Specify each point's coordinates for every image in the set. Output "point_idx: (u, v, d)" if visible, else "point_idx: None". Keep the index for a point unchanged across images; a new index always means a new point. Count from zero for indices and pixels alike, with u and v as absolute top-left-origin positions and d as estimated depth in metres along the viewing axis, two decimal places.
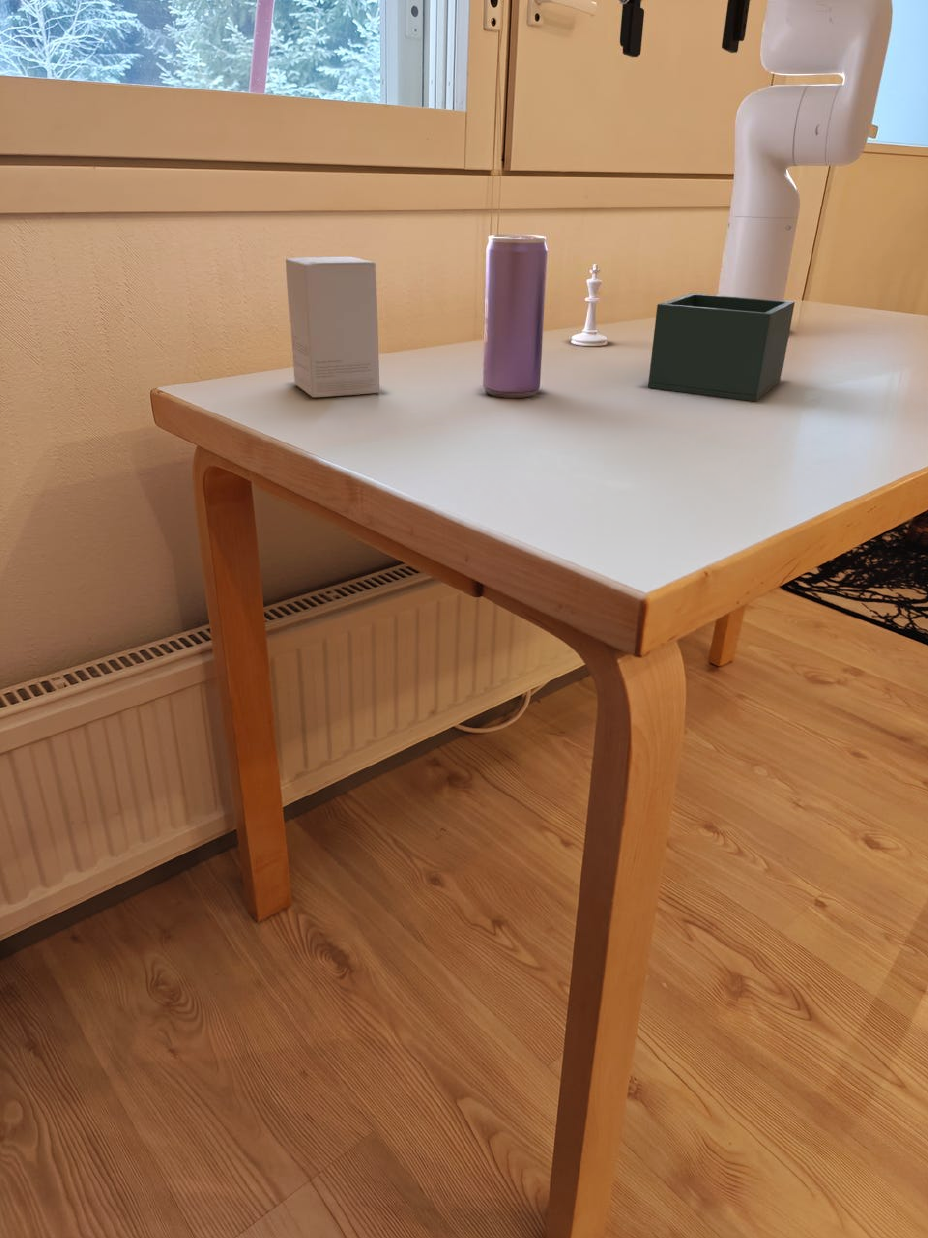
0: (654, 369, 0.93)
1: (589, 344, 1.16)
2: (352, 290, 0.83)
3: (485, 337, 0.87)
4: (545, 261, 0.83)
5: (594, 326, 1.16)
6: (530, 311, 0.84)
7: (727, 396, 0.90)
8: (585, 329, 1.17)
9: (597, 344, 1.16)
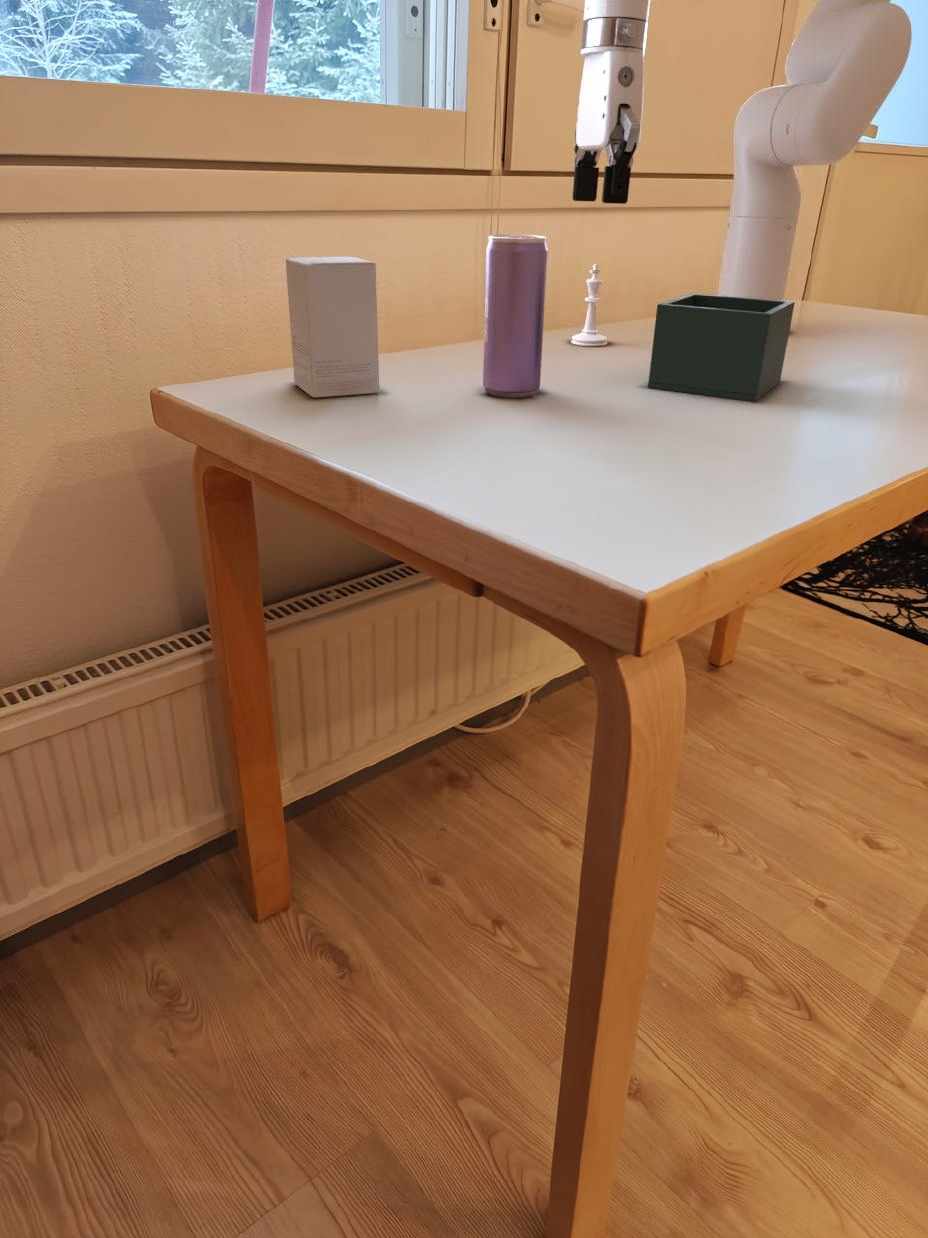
0: (654, 369, 0.93)
1: (589, 344, 1.16)
2: (352, 290, 0.83)
3: (485, 337, 0.87)
4: (545, 261, 0.83)
5: (594, 326, 1.16)
6: (530, 311, 0.84)
7: (727, 396, 0.90)
8: (585, 329, 1.17)
9: (597, 344, 1.16)
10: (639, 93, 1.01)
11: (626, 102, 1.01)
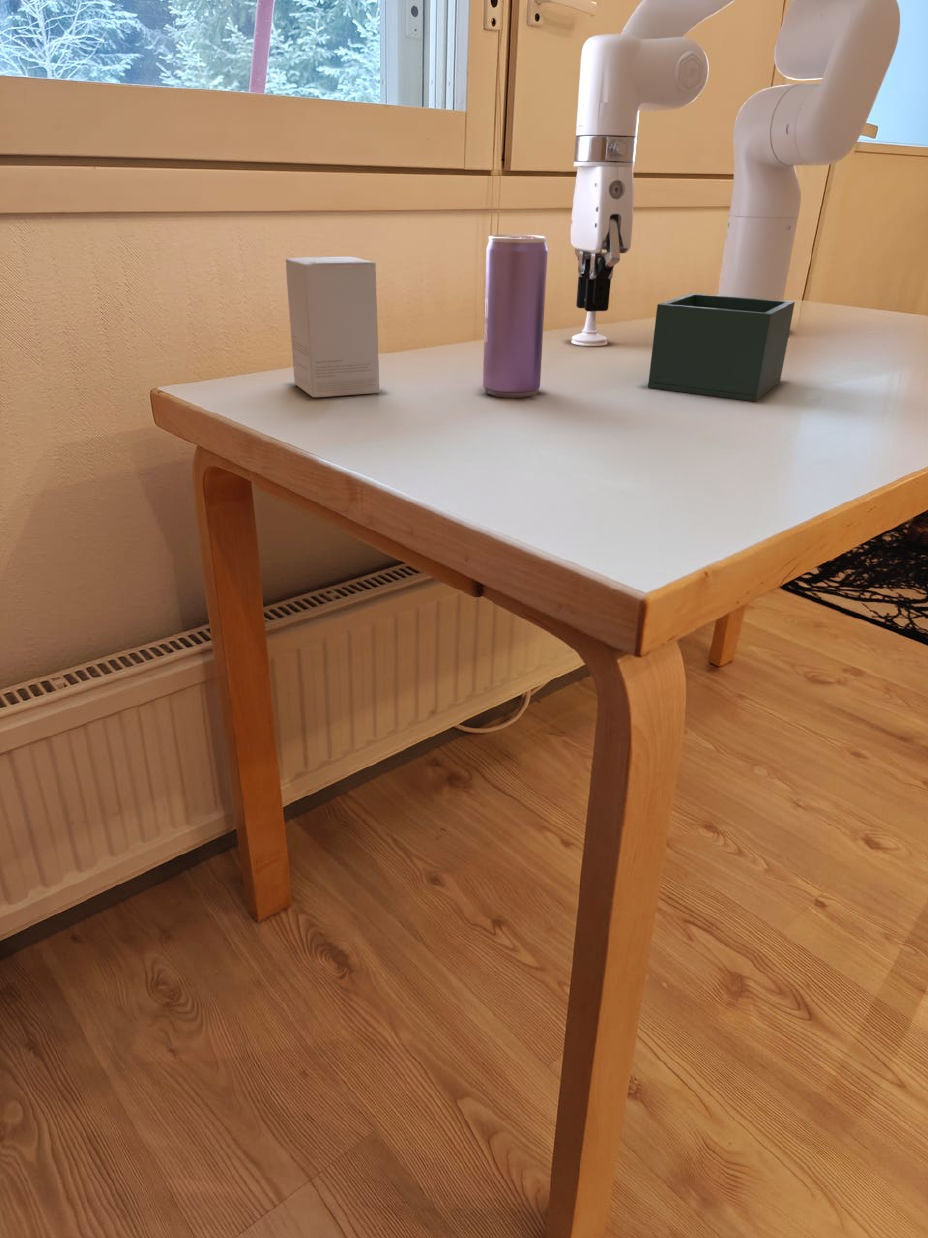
0: (654, 369, 0.93)
1: (589, 344, 1.16)
2: (352, 290, 0.83)
3: (485, 337, 0.87)
4: (545, 261, 0.83)
5: (594, 326, 1.16)
6: (530, 311, 0.84)
7: (727, 396, 0.90)
8: (585, 329, 1.17)
9: (597, 344, 1.16)
10: (629, 204, 1.06)
11: (617, 213, 1.06)
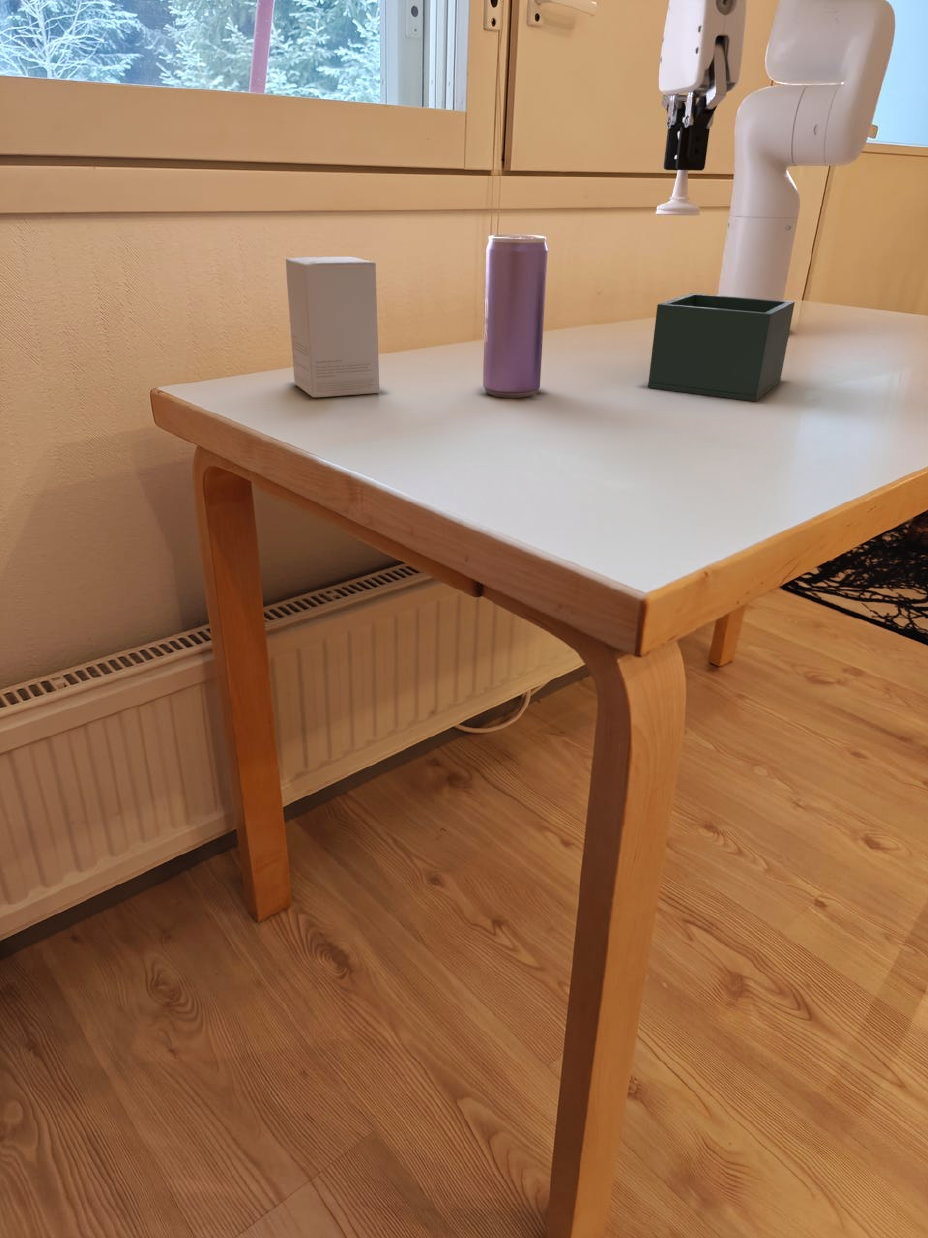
0: (654, 369, 0.93)
1: (679, 212, 0.94)
2: (352, 290, 0.83)
3: (485, 337, 0.87)
4: (545, 261, 0.83)
5: (685, 191, 0.95)
6: (530, 311, 0.84)
7: (727, 396, 0.90)
8: (674, 195, 0.95)
9: (689, 213, 0.94)
10: (740, 22, 0.85)
11: (725, 33, 0.85)
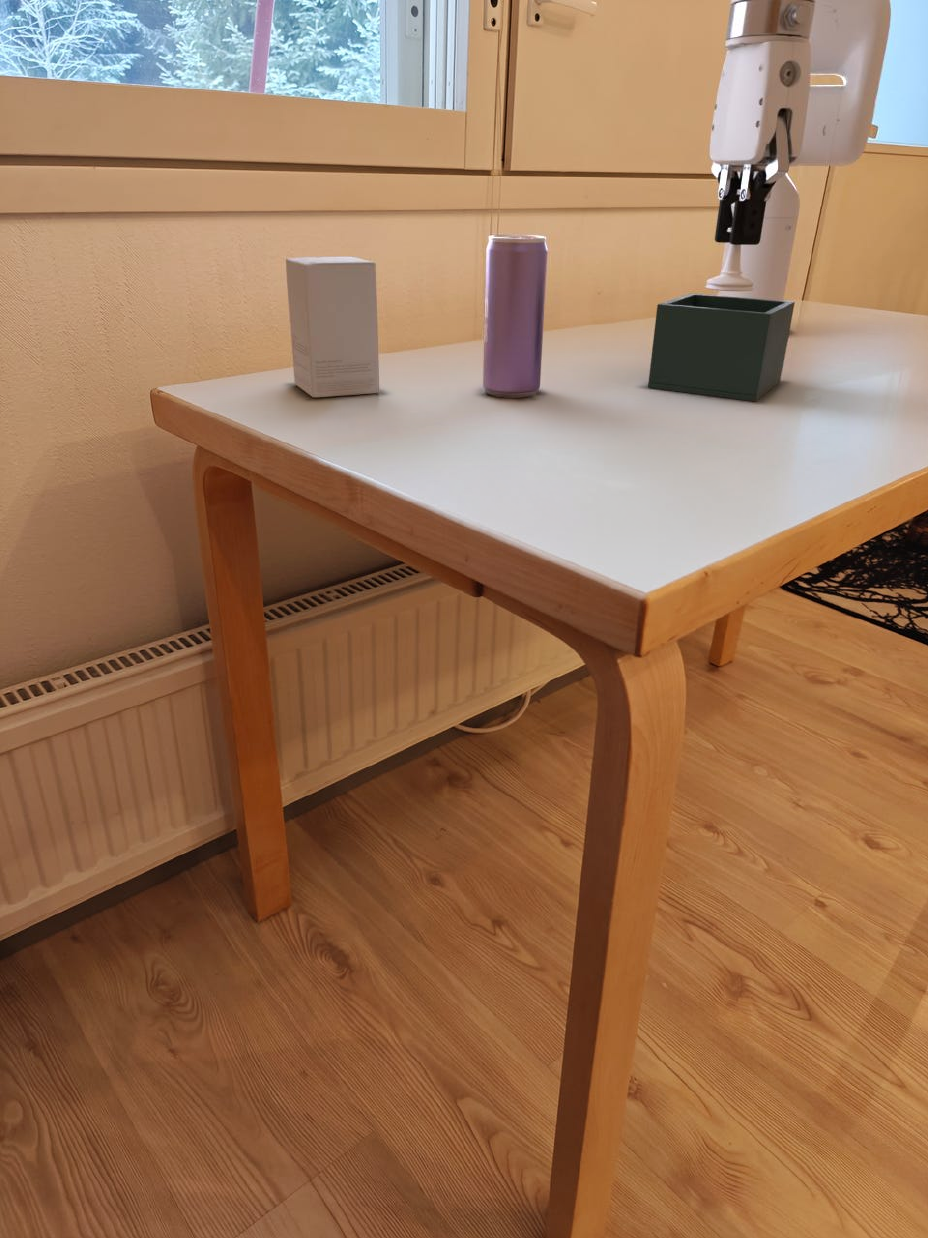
0: (654, 369, 0.93)
1: (732, 289, 0.89)
2: (352, 290, 0.83)
3: (485, 337, 0.87)
4: (545, 261, 0.83)
5: (738, 265, 0.89)
6: (530, 311, 0.84)
7: (727, 396, 0.90)
8: (726, 270, 0.90)
9: (743, 289, 0.89)
10: (804, 95, 0.79)
11: (788, 106, 0.79)
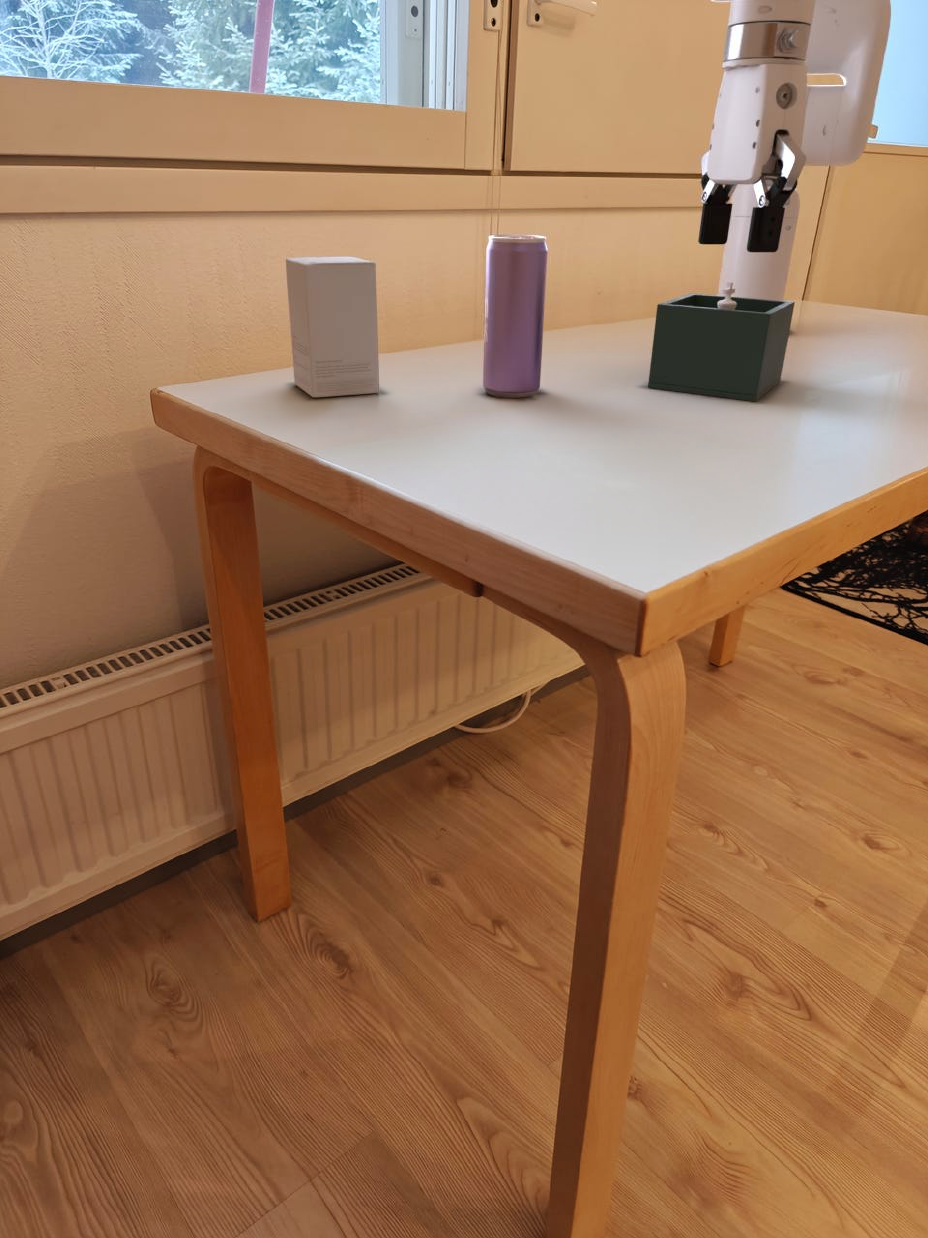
0: (654, 369, 0.93)
1: None
2: (352, 290, 0.83)
3: (485, 337, 0.87)
4: (545, 261, 0.83)
5: None
6: (530, 311, 0.84)
7: (727, 396, 0.90)
8: None
9: None
10: (800, 116, 0.80)
11: (784, 128, 0.80)
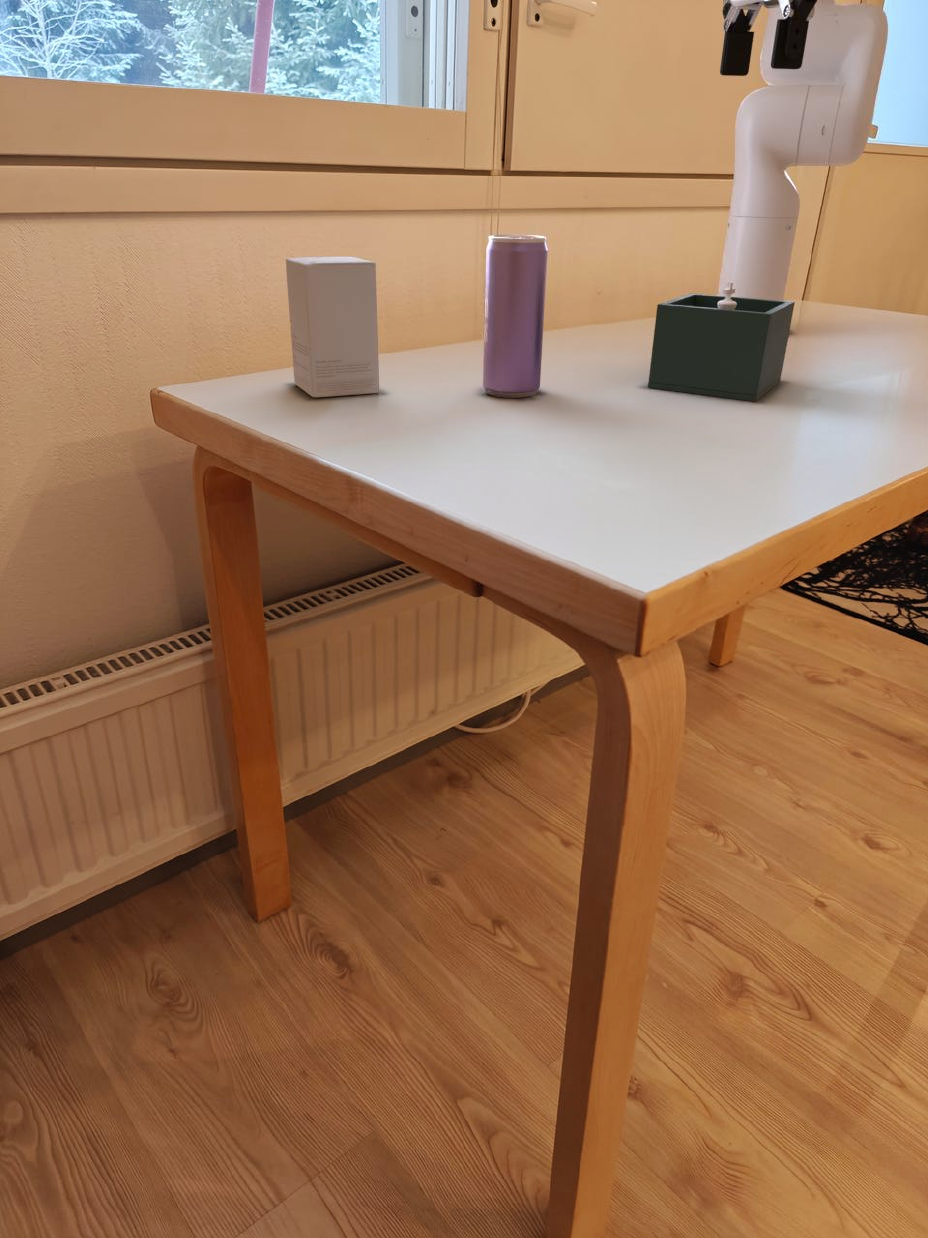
0: (654, 369, 0.93)
1: None
2: (352, 290, 0.83)
3: (485, 337, 0.87)
4: (545, 261, 0.83)
5: None
6: (530, 311, 0.84)
7: (727, 396, 0.90)
8: None
9: None
10: None
11: None
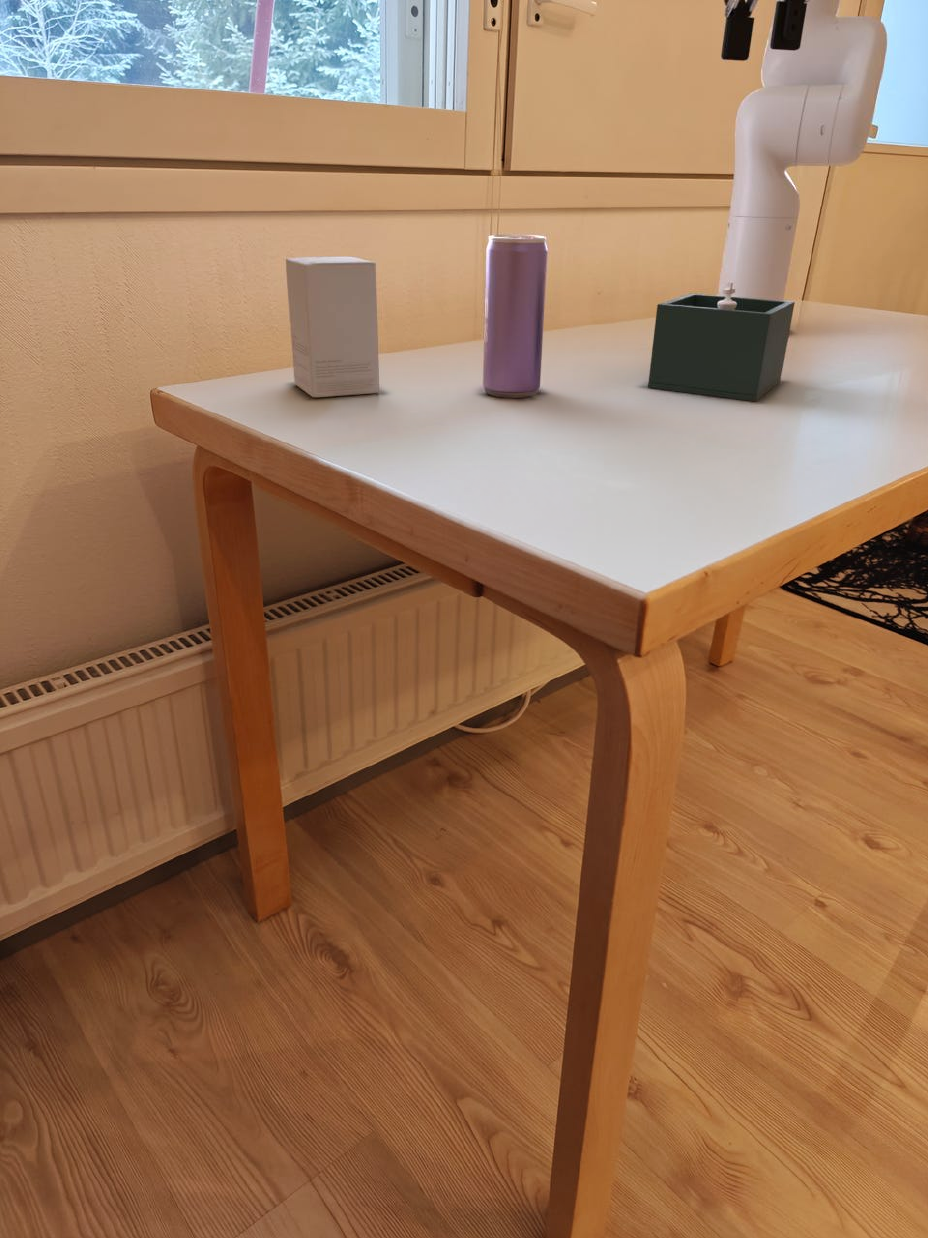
0: (654, 369, 0.93)
1: None
2: (352, 290, 0.83)
3: (485, 337, 0.87)
4: (545, 261, 0.83)
5: None
6: (530, 311, 0.84)
7: (727, 396, 0.90)
8: None
9: None
10: None
11: None
